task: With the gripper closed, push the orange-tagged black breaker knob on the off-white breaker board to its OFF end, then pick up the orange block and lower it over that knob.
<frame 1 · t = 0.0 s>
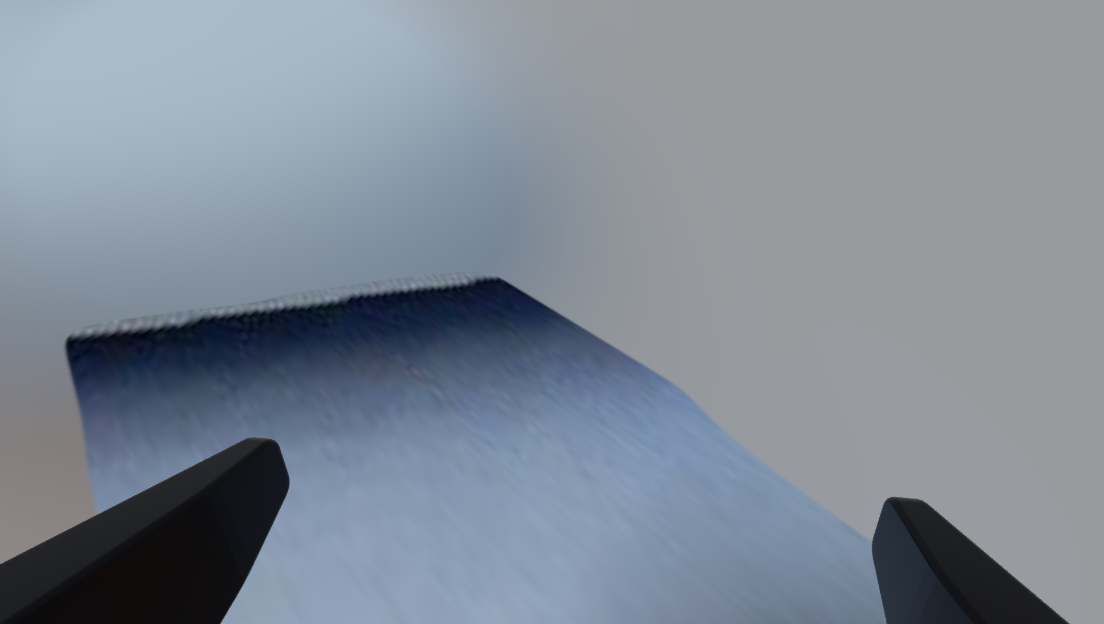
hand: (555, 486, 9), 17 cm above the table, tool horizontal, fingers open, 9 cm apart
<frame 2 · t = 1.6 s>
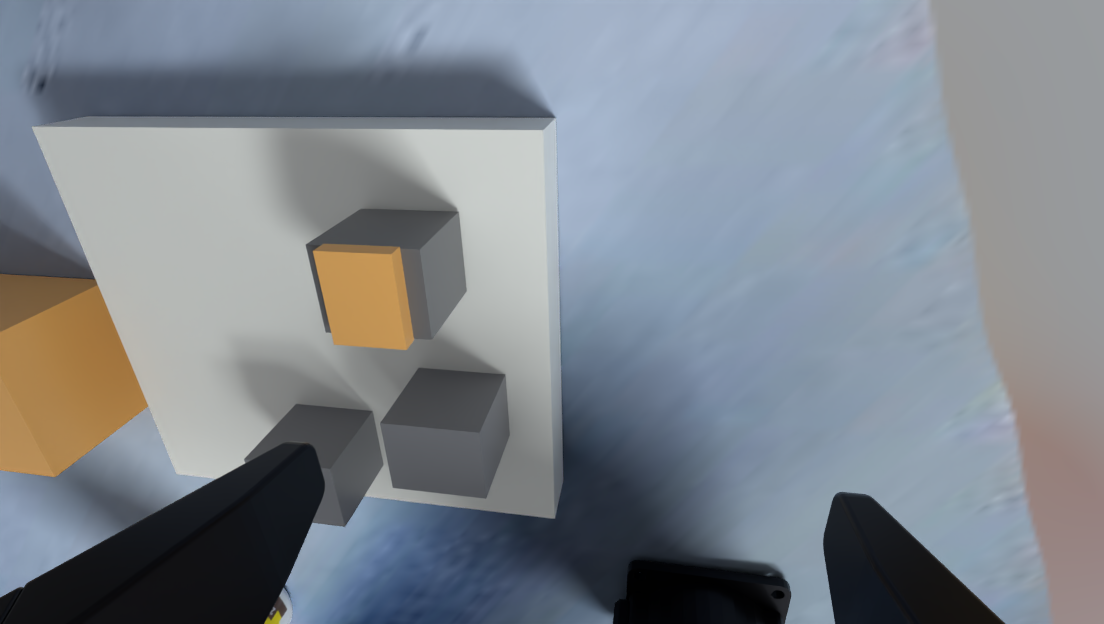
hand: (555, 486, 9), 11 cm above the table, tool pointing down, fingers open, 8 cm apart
breaker board: (346, 314, 22), on the table
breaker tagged: (390, 273, 16), point 4 cm above the table, slide at 0.0 cm
orange block: (70, 338, 25), on the table
supplement bottle: (250, 586, 31), on the table
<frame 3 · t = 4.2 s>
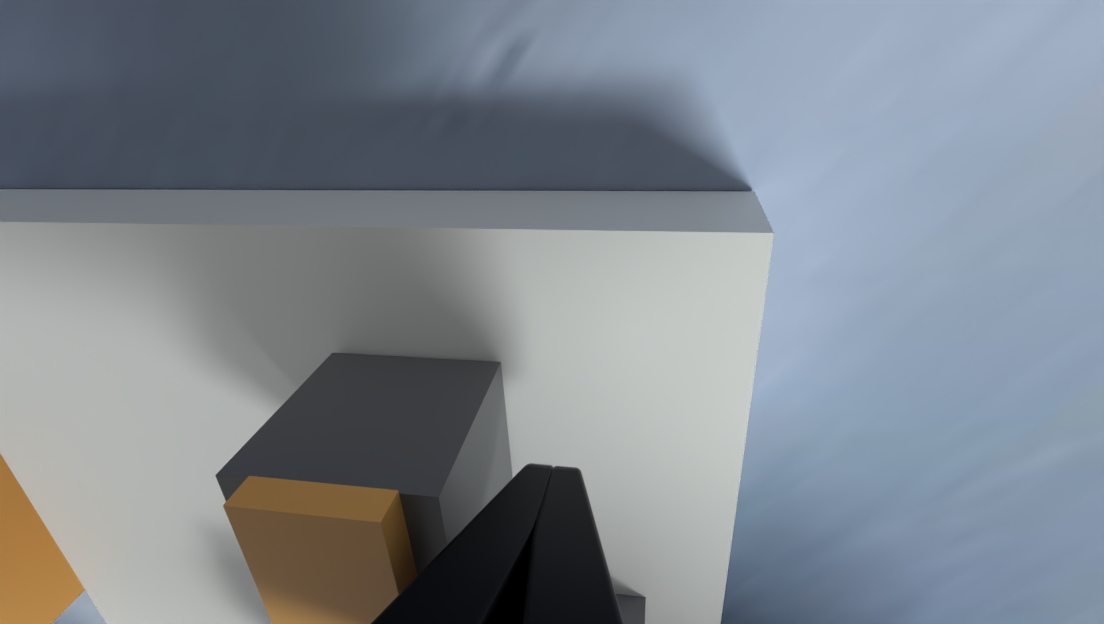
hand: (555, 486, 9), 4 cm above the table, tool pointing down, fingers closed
breaker board: (379, 471, 14), on the table
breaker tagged: (383, 488, 9), point 4 cm above the table, slide at 1.5 cm, touching gripper
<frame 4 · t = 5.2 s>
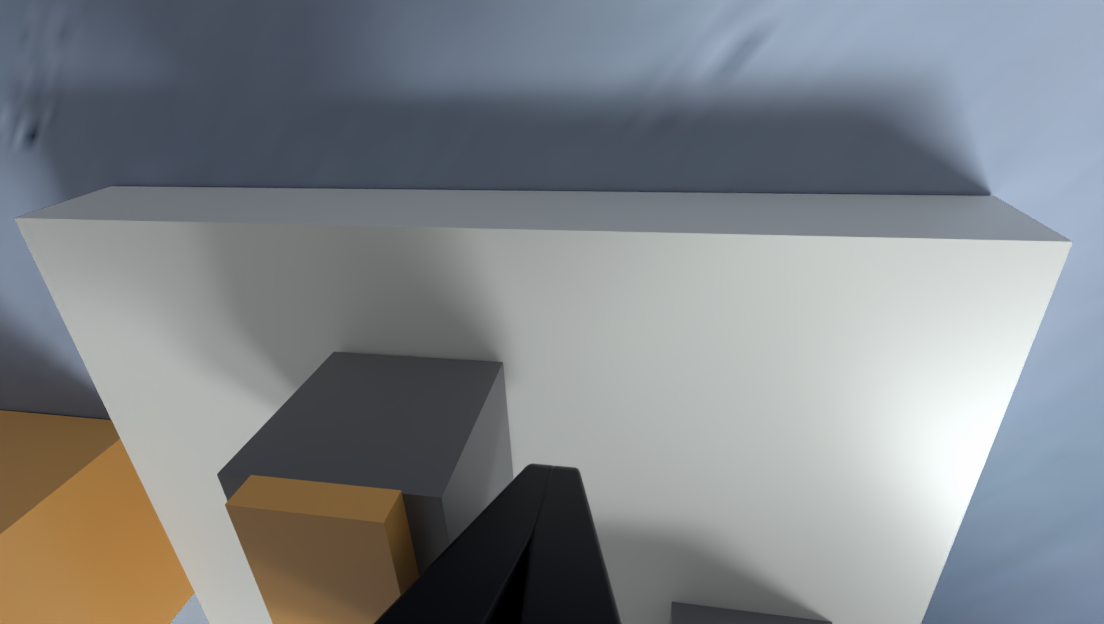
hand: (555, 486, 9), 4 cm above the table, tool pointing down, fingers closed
breaker board: (520, 484, 14), on the table
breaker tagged: (385, 487, 9), point 4 cm above the table, slide at 5.0 cm, touching gripper
orange block: (82, 493, 17), on the table
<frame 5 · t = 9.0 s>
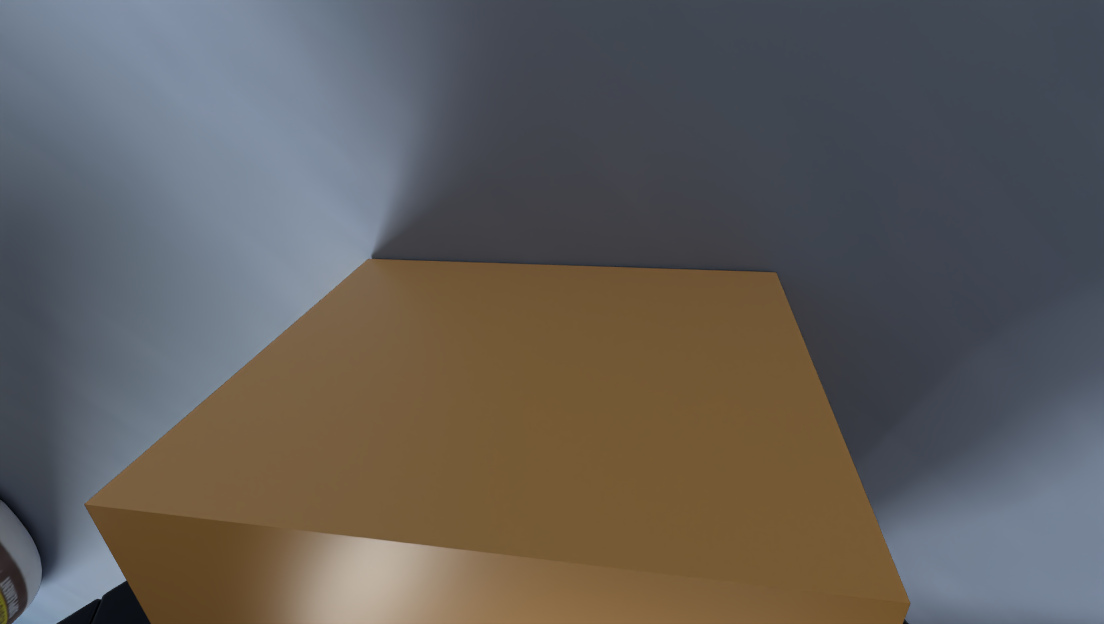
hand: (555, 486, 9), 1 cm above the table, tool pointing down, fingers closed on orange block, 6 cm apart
orange block: (566, 440, 10), on the table, touching gripper
when the fingers open (4 cm above the table, at t = 13.8 s): orange block drops 1 cm, resting on breaker board.
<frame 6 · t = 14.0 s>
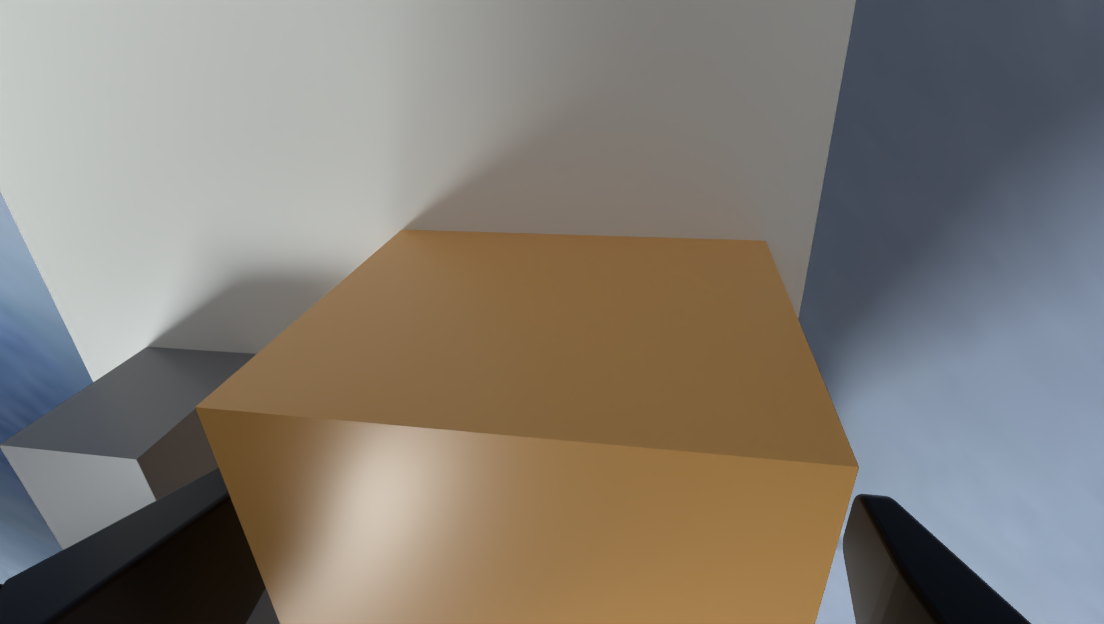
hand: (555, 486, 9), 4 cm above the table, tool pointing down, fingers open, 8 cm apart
breaker board: (437, 370, 13), on the table
orange block: (576, 397, 11), point 2 cm above the table, touching breaker board
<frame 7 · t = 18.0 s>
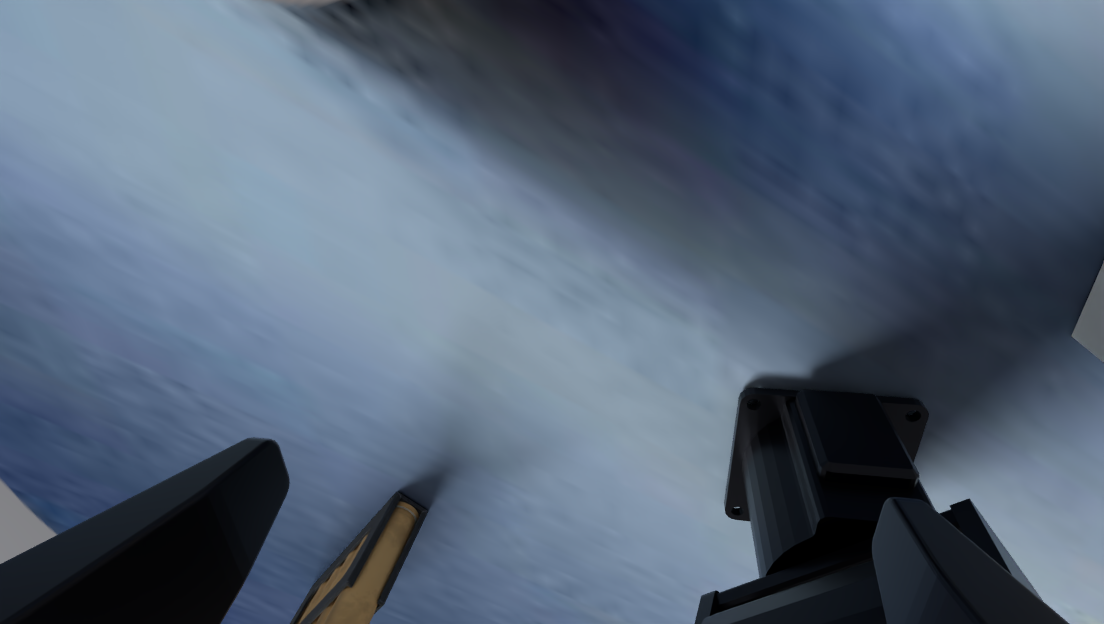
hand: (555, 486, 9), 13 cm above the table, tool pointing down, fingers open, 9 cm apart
ammunition clip: (368, 547, 31), on the table
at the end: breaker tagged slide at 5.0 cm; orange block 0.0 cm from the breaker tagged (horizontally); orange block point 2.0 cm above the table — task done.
